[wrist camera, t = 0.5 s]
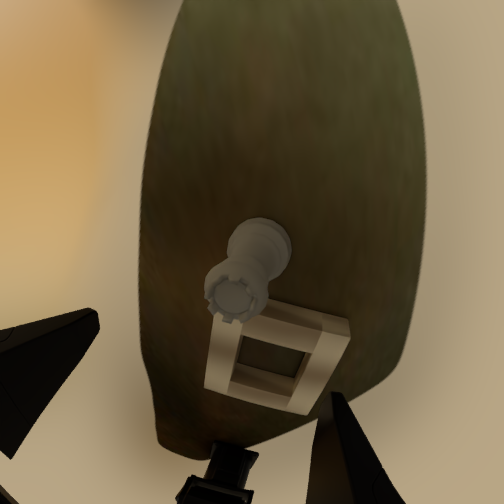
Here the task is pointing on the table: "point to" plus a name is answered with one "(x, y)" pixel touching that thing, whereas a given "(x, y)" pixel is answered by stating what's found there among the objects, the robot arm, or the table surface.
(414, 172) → the table surface
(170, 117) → the table surface
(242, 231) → the rook chess piece
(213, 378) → the socket collar
